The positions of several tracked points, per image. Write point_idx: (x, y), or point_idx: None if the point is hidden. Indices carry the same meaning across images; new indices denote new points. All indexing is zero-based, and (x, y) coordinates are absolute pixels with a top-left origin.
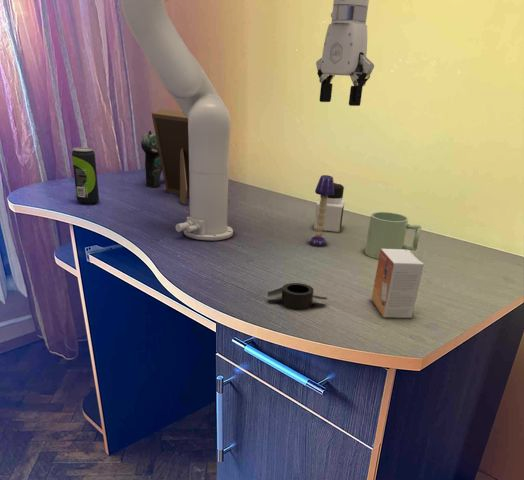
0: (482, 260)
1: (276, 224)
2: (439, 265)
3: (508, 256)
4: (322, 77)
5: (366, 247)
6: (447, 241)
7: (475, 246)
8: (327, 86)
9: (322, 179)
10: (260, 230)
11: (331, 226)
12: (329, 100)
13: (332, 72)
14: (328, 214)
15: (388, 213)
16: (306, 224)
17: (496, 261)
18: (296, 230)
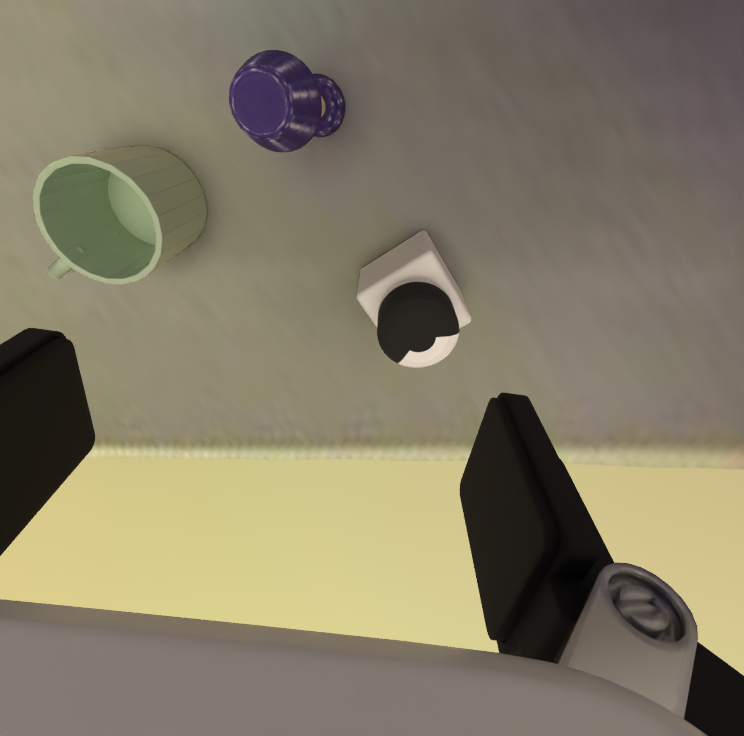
0: None
1: (542, 171)
2: (33, 247)
3: None
4: (639, 647)
5: (173, 162)
6: (172, 420)
7: (121, 434)
8: (511, 566)
9: (258, 62)
10: (543, 53)
11: (380, 260)
12: (463, 481)
13: (194, 652)
14: (391, 263)
15: (144, 269)
16: (474, 256)
17: None
18: (456, 174)
